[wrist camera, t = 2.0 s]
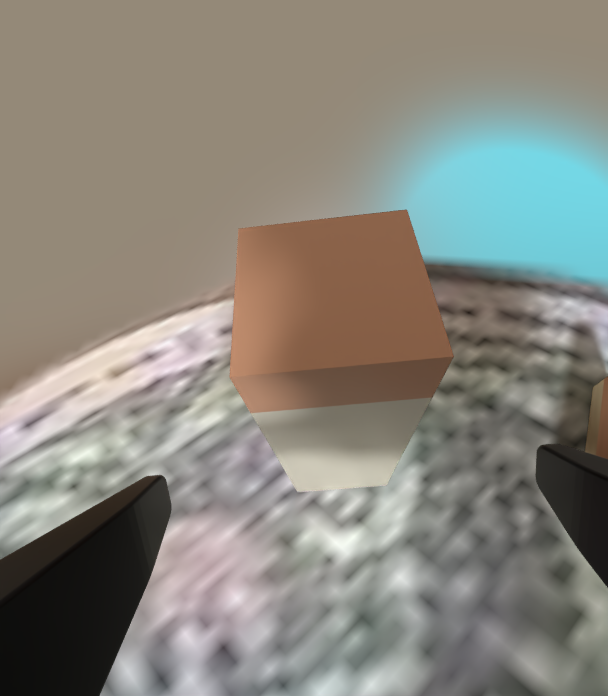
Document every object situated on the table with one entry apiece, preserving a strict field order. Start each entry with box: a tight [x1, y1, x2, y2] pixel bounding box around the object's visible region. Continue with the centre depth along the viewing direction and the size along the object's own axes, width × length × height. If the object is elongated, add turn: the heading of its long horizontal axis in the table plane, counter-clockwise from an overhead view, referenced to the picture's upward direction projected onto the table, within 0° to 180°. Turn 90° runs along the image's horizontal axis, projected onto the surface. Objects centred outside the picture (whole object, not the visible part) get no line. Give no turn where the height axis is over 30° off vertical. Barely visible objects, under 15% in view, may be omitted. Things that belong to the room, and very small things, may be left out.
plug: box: [230, 210, 454, 492], centre depth 14 cm, size 4×4×13 cm
